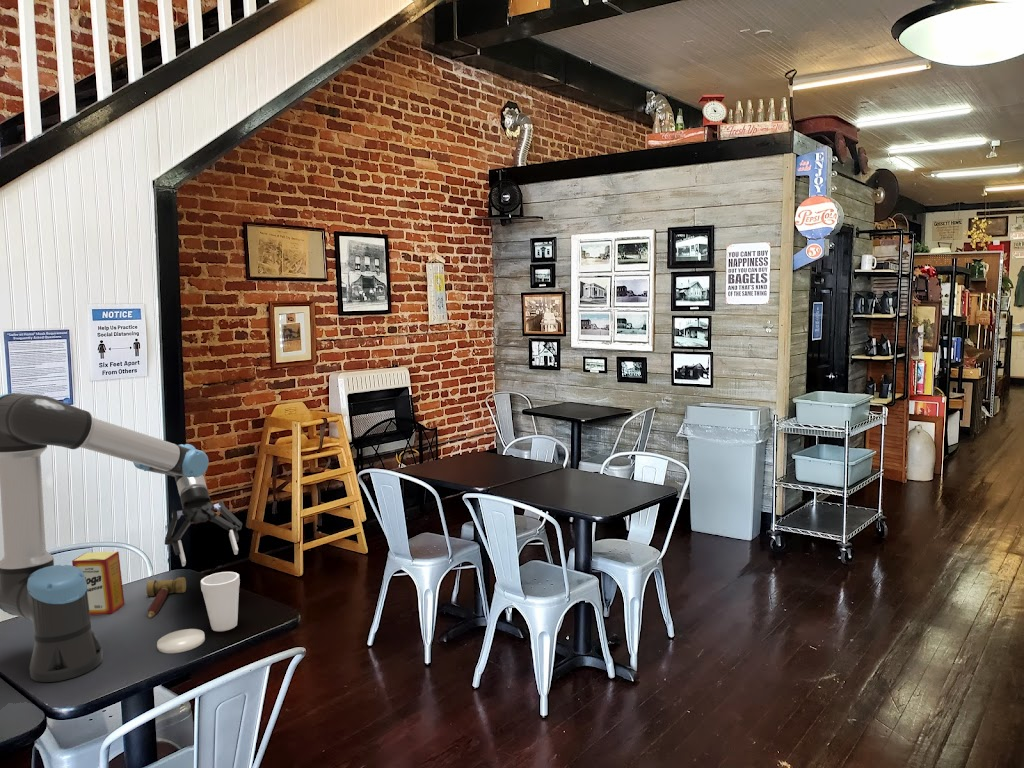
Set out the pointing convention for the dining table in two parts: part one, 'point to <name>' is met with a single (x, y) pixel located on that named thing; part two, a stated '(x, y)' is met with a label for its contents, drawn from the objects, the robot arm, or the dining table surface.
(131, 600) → the dining table surface
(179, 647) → the plate
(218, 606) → the foam cup
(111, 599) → the baking soda box
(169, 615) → the dining table surface
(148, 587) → the gavel
